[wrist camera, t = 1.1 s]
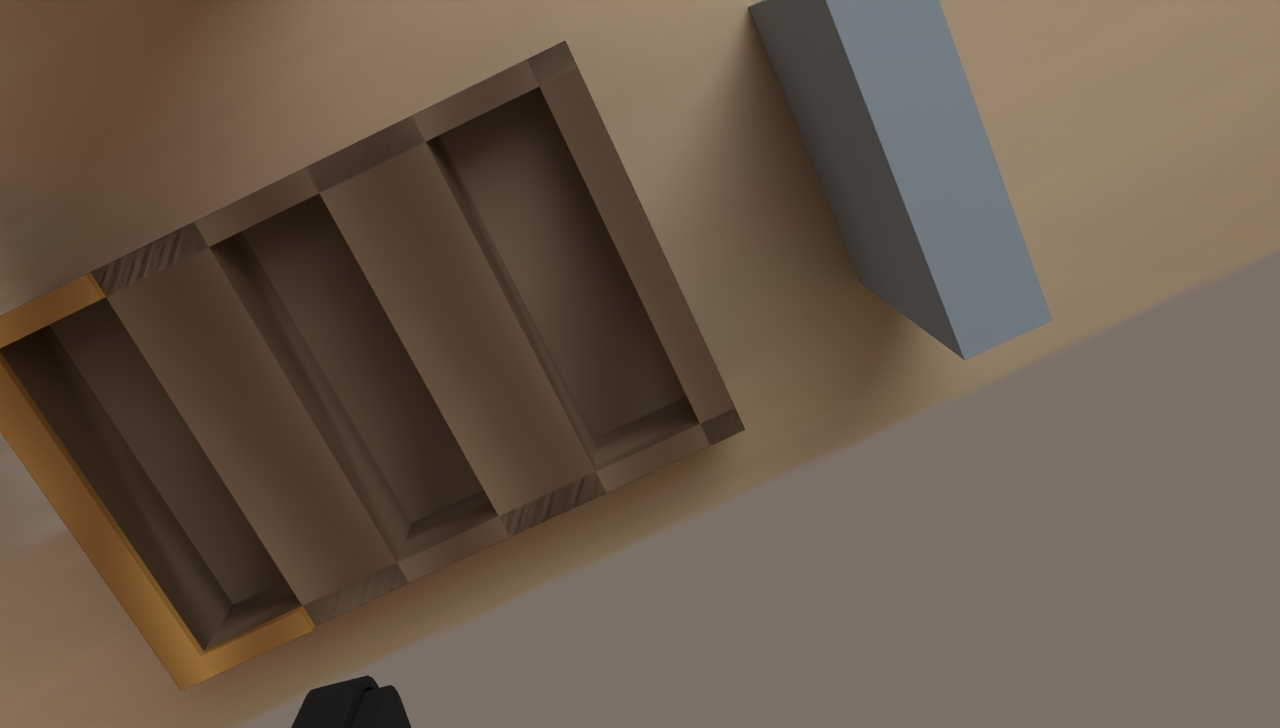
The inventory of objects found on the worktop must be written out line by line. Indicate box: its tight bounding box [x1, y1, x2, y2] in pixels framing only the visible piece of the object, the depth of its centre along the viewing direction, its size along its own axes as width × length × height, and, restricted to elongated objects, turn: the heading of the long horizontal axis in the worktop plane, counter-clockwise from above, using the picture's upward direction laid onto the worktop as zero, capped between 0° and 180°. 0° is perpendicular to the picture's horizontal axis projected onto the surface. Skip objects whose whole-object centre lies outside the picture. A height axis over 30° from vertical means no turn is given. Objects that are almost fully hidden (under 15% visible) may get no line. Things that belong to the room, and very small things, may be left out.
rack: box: [0, 41, 745, 691], centre depth 33 cm, size 20×13×5 cm, turn 115°
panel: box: [748, 0, 1052, 360], centre depth 30 cm, size 2×10×10 cm, turn 25°
